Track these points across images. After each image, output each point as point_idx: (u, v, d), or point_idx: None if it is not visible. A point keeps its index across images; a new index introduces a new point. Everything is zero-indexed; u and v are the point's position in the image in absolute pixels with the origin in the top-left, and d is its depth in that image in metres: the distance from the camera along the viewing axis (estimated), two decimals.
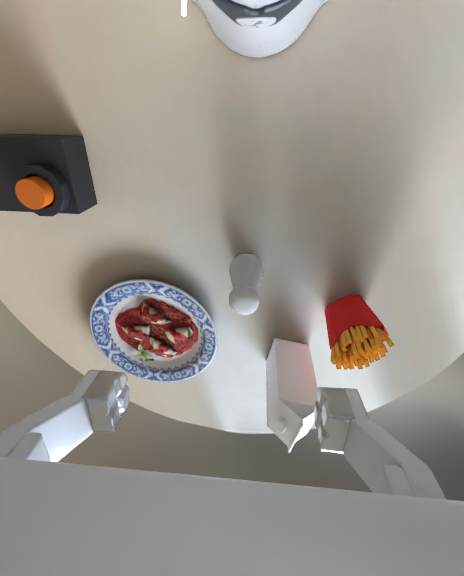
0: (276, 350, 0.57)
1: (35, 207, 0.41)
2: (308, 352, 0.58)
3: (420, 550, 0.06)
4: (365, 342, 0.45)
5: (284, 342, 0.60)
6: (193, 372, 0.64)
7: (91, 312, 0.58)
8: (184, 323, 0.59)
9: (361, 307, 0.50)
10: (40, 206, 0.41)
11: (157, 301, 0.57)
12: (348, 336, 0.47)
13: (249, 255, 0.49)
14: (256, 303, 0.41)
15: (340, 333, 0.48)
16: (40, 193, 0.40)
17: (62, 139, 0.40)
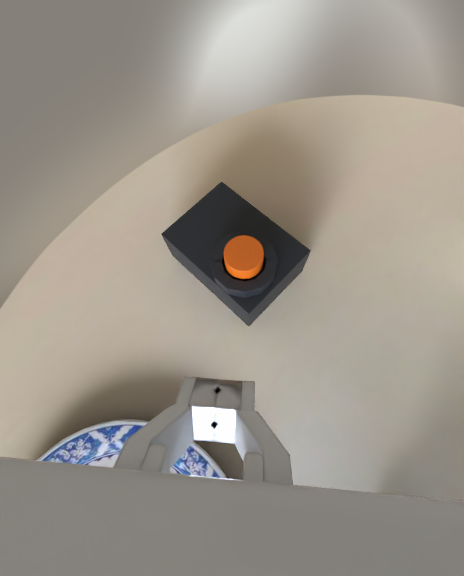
0: None
1: (233, 265, 0.29)
2: None
3: (420, 550, 0.06)
4: None
5: None
6: None
7: (82, 431, 0.31)
8: None
9: None
10: (239, 269, 0.29)
11: None
12: None
13: None
14: None
15: None
16: (256, 260, 0.29)
17: (309, 252, 0.34)
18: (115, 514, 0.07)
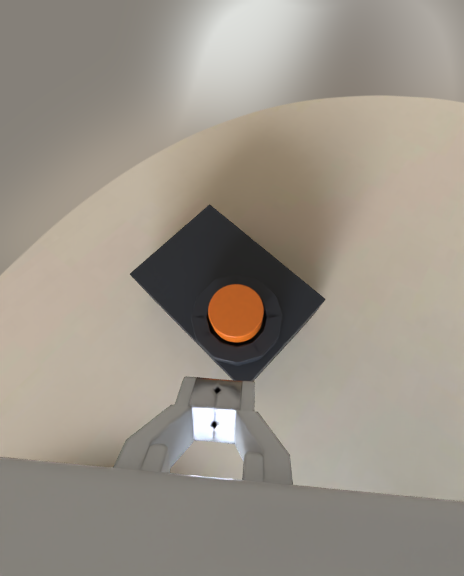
0: None
1: (221, 328, 0.21)
2: None
3: (420, 550, 0.06)
4: None
5: None
6: None
7: None
8: None
9: None
10: (230, 334, 0.21)
11: None
12: None
13: None
14: None
15: None
16: (253, 321, 0.21)
17: (323, 301, 0.25)
18: (115, 514, 0.07)
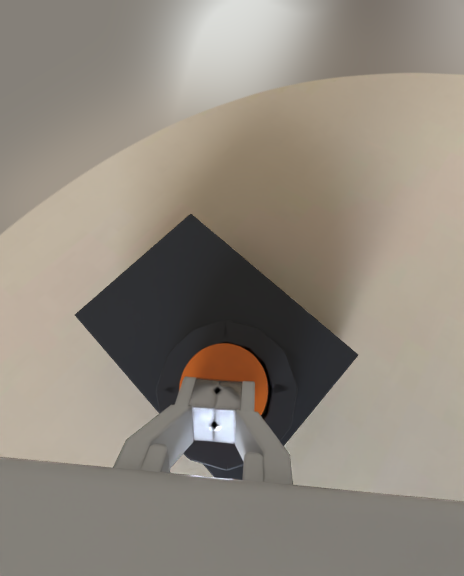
0: None
1: None
2: None
3: (420, 550, 0.06)
4: None
5: None
6: None
7: None
8: None
9: None
10: None
11: None
12: None
13: None
14: None
15: None
16: None
17: None
18: (115, 514, 0.07)
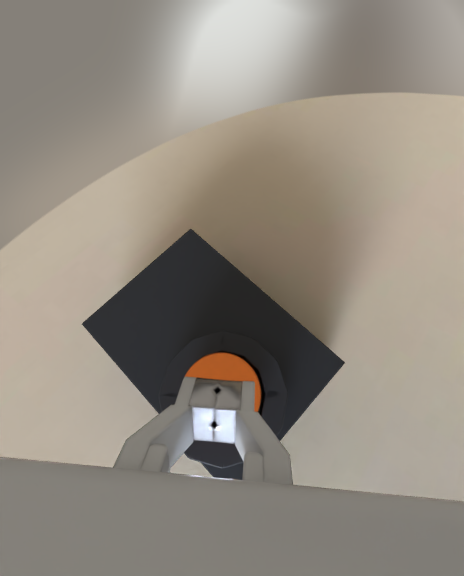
0: None
1: None
2: None
3: (420, 550, 0.06)
4: None
5: None
6: None
7: None
8: None
9: None
10: None
11: None
12: None
13: None
14: None
15: None
16: None
17: None
18: (115, 514, 0.07)
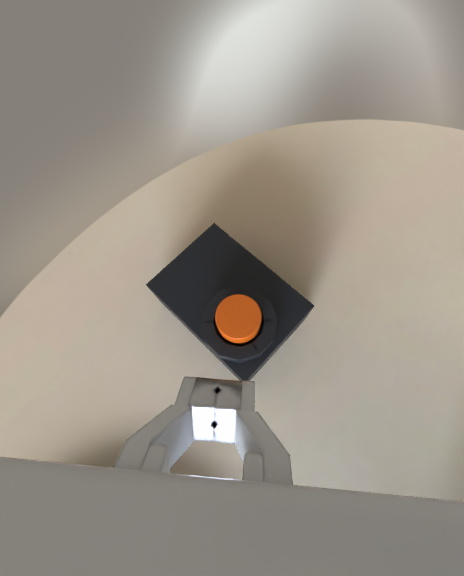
0: None
1: (226, 331, 0.25)
2: None
3: (420, 550, 0.06)
4: None
5: None
6: None
7: None
8: None
9: None
10: (233, 336, 0.25)
11: None
12: None
13: None
14: None
15: None
16: (253, 325, 0.26)
17: (312, 307, 0.30)
18: (115, 514, 0.07)
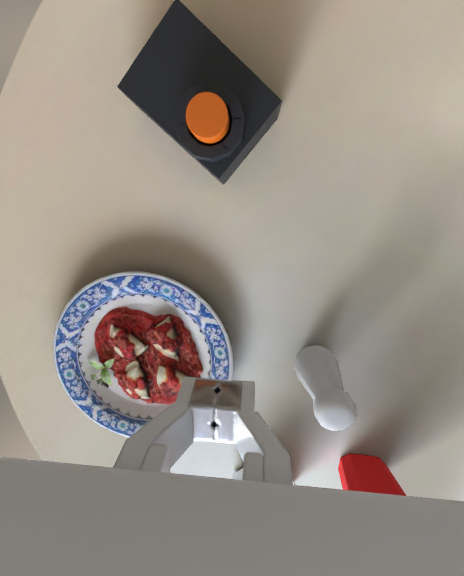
0: None
1: (196, 132, 0.29)
2: None
3: (420, 550, 0.06)
4: None
5: None
6: None
7: (96, 281, 0.40)
8: (190, 372, 0.43)
9: (395, 483, 0.42)
10: (203, 136, 0.29)
11: (183, 326, 0.42)
12: None
13: (333, 354, 0.40)
14: (351, 424, 0.31)
15: None
16: (220, 124, 0.28)
17: (280, 102, 0.31)
18: (115, 514, 0.07)
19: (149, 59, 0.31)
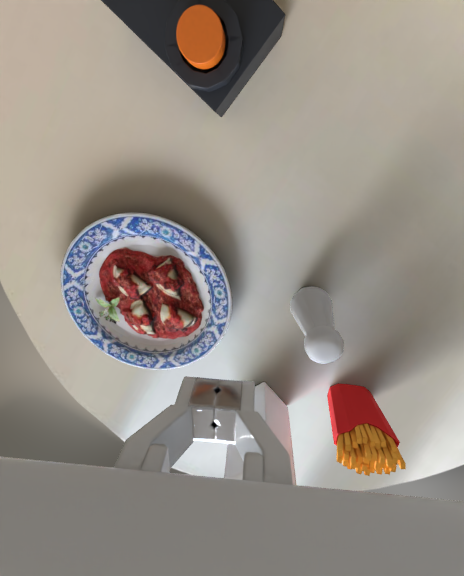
0: (265, 398, 0.48)
1: (189, 55, 0.26)
2: (287, 415, 0.51)
3: (420, 550, 0.06)
4: (380, 450, 0.41)
5: (271, 391, 0.52)
6: (152, 365, 0.50)
7: (95, 223, 0.40)
8: (192, 310, 0.46)
9: (377, 408, 0.47)
10: (197, 61, 0.26)
11: (184, 267, 0.44)
12: (364, 434, 0.42)
13: (328, 295, 0.41)
14: (337, 358, 0.33)
15: (355, 425, 0.43)
16: (214, 46, 0.26)
17: (284, 16, 0.27)
18: (115, 514, 0.07)
19: None
